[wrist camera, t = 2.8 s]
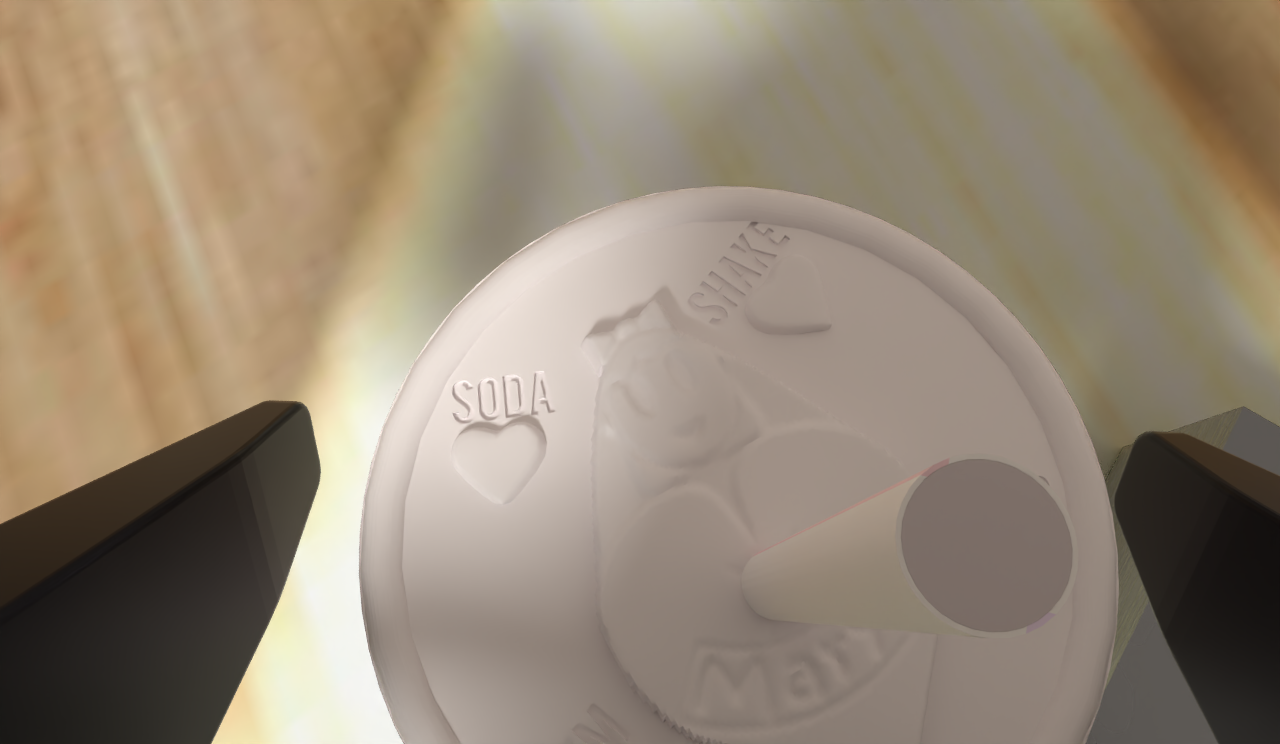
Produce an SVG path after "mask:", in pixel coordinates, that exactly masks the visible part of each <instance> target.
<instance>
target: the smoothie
mask: <svg viewBox="0 0 1280 744" xmlns="http://www.w3.org/2000/svg"><path fill="white" fill-rule="evenodd" d="M359 579H360V592H361V604H362V614H363V620H364V625H365V631H366V636H367V642H368V648H369V652H370V656H371V659H372V663H373V666H374V670H375V673H376V677H377V680H378V684H379V687H380V690H381V693H382V695H383V698H384V700H385V703H386V705H387V708H388V711H389V713H390V716H391V718H392V721H393V723H394V726H395V728H396V730H397V732H398V734H399V736H400V738H401V739H402V741H403V743H404V744H1085V743H1086V741H1087V738H1088V736H1089V733H1090V730H1091V728H1092V725H1093V723H1094V720H1095V717H1096V715H1097V712H1098V710H1099V707H1100V704H1101V700H1102V696H1103V693H1104V689H1105V685H1106V682H1107V678H1108V674H1109V671H1110V666H1111V660H1112V654H1113V648H1114V642H1115V636H1116V630H1117V614H1118V598H1119V578H1118V552H1117V544H1116V537H1115V529H1114V522H1113V514H1112V510H1111V506H1110V501H1109V497H1108V493H1107V488H1106V484H1105V479H1104V476H1103V473H1102V470H1101V467H1100V464H1099V461H1098V458H1097V455H1096V452H1095V449H1094V446H1093V443H1092V440H1091V438H1090V436H1089V434H1088V431H1087V429H1086V427H1085V424H1084V422H1083V420H1082V417H1081V415H1080V413H1079V411H1078V408H1077V407H1076V405H1075V403H1074V401H1073V399H1072V397H1071V396H1070V394H1069V392H1068V390H1067V388H1066V387H1065V385H1064V383H1063V381H1062V379H1061V377H1060V376H1059V374H1058V373H1057V371H1056V370H1055V368H1054V367H1053V365H1052V364H1051V362H1050V361H1049V359H1048V358H1047V356H1046V355H1045V354H1044V352H1043V351H1042V349H1041V348H1040V346H1039V345H1038V344H1037V342H1036V341H1035V340H1034V339H1033V338H1032V336H1031V335H1030V334H1029V333H1028V331H1027V330H1026V329H1025V328H1024V326H1023V325H1022V324H1021V323H1020V321H1019V320H1018V319H1017V318H1016V317H1015V316H1014V315H1013V314H1012V313H1011V312H1010V311H1009V310H1008V309H1007V308H1006V307H1005V306H1004V305H1003V303H1002V302H1001V301H1000V300H999V299H998V298H997V297H996V296H995V295H994V294H993V293H992V292H991V291H989V290H988V289H987V288H986V287H985V286H984V285H982V284H981V283H980V282H979V281H978V280H977V279H976V278H974V277H973V276H972V275H971V274H970V273H969V272H968V271H966V270H965V269H964V268H962V267H961V266H959V265H958V264H957V263H955V262H954V261H953V260H951V259H950V258H948V257H947V256H946V255H944V254H943V253H942V252H940V251H939V250H937V249H935V248H934V247H932V246H930V245H929V244H927V243H925V242H924V241H922V240H920V239H919V238H917V237H915V236H914V235H912V234H910V233H909V232H907V231H905V230H903V229H900V228H898V227H896V226H894V225H892V224H890V223H888V222H886V221H884V220H882V219H880V218H878V217H875V216H873V215H870V214H867V213H865V212H862V211H860V210H857V209H854V208H852V207H849V206H846V205H843V204H839V203H836V202H832V201H829V200H825V199H822V198H819V197H815V196H810V195H805V194H800V193H795V192H789V191H784V190H776V189H767V188H757V187H738V186H711V187H697V188H684V189H677V190H671V191H665V192H659V193H653V194H648V195H644V196H641V197H637V198H633V199H629V200H625V201H621V202H618V203H615V204H612V205H609V206H606V207H604V208H601V209H598V210H595V211H592V212H589V213H587V214H585V215H583V216H581V217H578V218H576V219H574V220H572V221H570V222H568V223H565V224H563V225H561V226H559V227H557V228H555V229H554V230H552V231H550V232H548V233H547V234H545V235H543V236H541V237H540V238H538V239H536V240H534V241H533V242H531V243H529V244H528V245H527V246H525V247H524V248H522V249H521V250H519V251H518V252H517V253H515V254H514V255H512V256H511V257H509V258H508V259H507V260H505V261H504V262H502V263H501V264H500V265H499V266H498V267H497V268H495V269H494V270H493V271H492V272H491V273H490V274H488V275H487V276H486V277H485V278H484V279H483V280H481V281H480V282H479V283H478V284H477V285H476V286H475V287H474V288H473V289H472V290H471V291H470V292H469V293H468V294H467V295H466V296H465V297H464V298H463V299H462V300H461V301H460V302H459V303H458V304H457V305H456V306H455V307H454V308H453V310H452V311H451V312H450V313H449V315H448V316H447V317H446V318H445V319H444V321H443V322H442V323H441V324H440V326H439V327H438V328H437V329H436V331H435V332H434V333H433V334H432V336H431V337H430V339H429V340H428V342H427V343H426V345H425V346H424V348H423V349H422V351H421V352H420V354H419V355H418V357H417V358H416V360H415V361H414V363H413V364H412V366H411V368H410V370H409V372H408V374H407V376H406V377H405V379H404V381H403V383H402V385H401V387H400V389H399V390H398V392H397V394H396V396H395V399H394V401H393V403H392V406H391V408H390V411H389V413H388V415H387V418H386V420H385V423H384V425H383V427H382V430H381V434H380V437H379V440H378V443H377V446H376V449H375V453H374V456H373V459H372V462H371V467H370V472H369V476H368V481H367V486H366V491H365V495H364V502H363V510H362V519H361V528H360V544H359Z"/></svg>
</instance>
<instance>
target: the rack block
mask: <svg viewBox="0 0 1280 744" xmlns="http://www.w3.org/2000/svg"><path fill="white" fill-rule="evenodd" d="M1169 432H1180V433H1185V434H1188V435H1191V436H1193V437H1195V438H1197V439H1199V440H1202V441H1204V442H1206V443H1208V444H1210V445H1213V446H1215V447H1217V448H1219V449H1221V450H1224V451H1226V452H1228V453H1230V454H1233V455H1235V456H1237V457H1239V458H1241V459H1244V460H1246V461H1248V462H1250V463H1252V464H1255V465H1257V466H1259V467H1261V468H1264V469H1266V470H1268V471H1270V472H1272V473H1275V474H1277V475H1279V476H1280V427H1279V426H1277V425H1275V424H1273V423H1272V422H1270V421H1268V420H1266V419H1265V418H1263V417H1261V416H1260V415H1258V414H1256V413H1254V412H1253V411H1251V410H1249V409H1247V408H1246V407H1244V406H1243V407H1240V408H1237V409H1234V410H1231V411H1228V412H1225V413H1223V414H1220V415H1217V416H1214V417H1211V418H1208V419H1205V420H1202V421H1199V422H1196V423H1193V424H1190V425H1187V426H1184V427H1181V428H1178V429H1175V430H1172V431H1169ZM1132 446H1133V444H1131V445H1128V446H1125V447H1123V448H1122V450H1121V452H1120V454H1119V456H1118V458H1117V460H1116V462H1115V464H1114V466H1113V468H1112V469H1111V471H1110V473H1109V475H1108V477H1107V479H1106V481H1105V484H1106V488H1107V493H1108V497H1109V501H1110V506H1111V510H1112V514H1113V522H1114V529H1115V537H1116V544H1117V552H1118V578H1119V598H1118V614H1117V630H1116V636H1115V642H1114V648H1113V654H1112V660H1111V666H1110V671H1109V674H1108V678H1107V682H1106V685H1105V689H1104V693H1103V696H1102V700H1101V704H1100V707H1099V710H1098V712H1097V715H1096V717H1095V720H1094V723H1093V725H1092V728H1091V730H1090V733H1089V736H1088V738H1087V741H1086V743H1085V744H1218V742H1217V740H1216V739H1215V737H1214V735H1213V733H1212V731H1211V729H1210V727H1209V725H1208V723H1207V721H1206V719H1205V717H1204V715H1203V714H1202V712H1201V710H1200V708H1199V706H1198V704H1197V702H1196V700H1195V698H1194V696H1193V694H1192V692H1191V690H1190V689H1189V687H1188V685H1187V683H1186V681H1185V679H1184V677H1183V675H1182V673H1181V671H1180V669H1179V667H1178V665H1177V664H1176V662H1175V660H1174V658H1173V656H1172V654H1171V652H1170V649H1169V647H1168V645H1167V643H1166V641H1165V639H1164V637H1163V635H1162V632H1161V630H1160V628H1159V625H1158V623H1157V621H1156V618H1155V616H1154V613H1153V611H1152V608H1151V606H1150V603H1149V601H1148V598H1147V595H1146V593H1145V590H1144V588H1143V585H1142V583H1141V580H1140V577H1139V575H1138V572H1137V570H1136V567H1135V564H1134V562H1133V559H1132V557H1131V554H1130V552H1129V549H1128V546H1127V544H1126V541H1125V539H1124V536H1123V534H1122V531H1121V528H1120V526H1119V523H1118V521H1117V518H1116V515H1115V510H1114V495H1115V491H1116V488H1117V485H1118V483H1119V480H1120V477H1121V475H1122V472H1123V469H1124V467H1125V464H1126V462H1127V459H1128V456H1129V454H1130V451H1131V448H1132Z"/></svg>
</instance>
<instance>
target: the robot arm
mask: <svg viewBox="0 0 1280 744" xmlns="http://www.w3.org/2000/svg"><path fill="white" fill-rule="evenodd" d="M320 474H321V468H320V460H319V455H318V450H317V445H316V440H315V436H314V431H313V426H312V421H311V416H310V413H309V411H308V409H307V407H306V406H305V405H304V404H303V403H301V402H296V401H264V402H262V403H259V404H257V405H255V406H253V407H251V408H249V409H246V410H244V411H242V412H240V413H238V414H236V415H234V416H231V417H229V418H227V419H225V420H223V421H221V422H219V423H216V424H214V425H212V426H210V427H208V428H206V429H204V430H201V431H199V432H197V433H195V434H193V435H191V436H188V437H186V438H184V439H182V440H180V441H178V442H176V443H173V444H171V445H169V446H167V447H165V448H163V449H161V450H158V451H156V452H154V453H152V454H150V455H148V456H145V457H143V458H141V459H139V460H137V461H135V462H133V463H130V464H128V465H126V466H124V467H122V468H120V469H118V470H115V471H113V472H111V473H109V474H107V475H105V476H103V477H100V478H98V479H96V480H94V481H92V482H90V483H87V484H85V485H83V486H81V487H79V488H77V489H75V490H72V491H70V492H68V493H66V494H64V495H62V496H60V497H57V498H55V499H53V500H51V501H49V502H47V503H45V504H42V505H40V506H38V507H36V508H34V509H32V510H29V511H27V512H25V513H23V514H21V515H19V516H17V517H14V518H12V519H10V520H8V521H6V522H4V523H2V524H0V744H211V743H212V741H213V739H214V737H215V735H216V733H217V731H218V729H219V727H220V725H221V722H222V720H223V718H224V716H225V714H226V712H227V710H228V708H229V706H230V704H231V702H232V699H233V697H234V695H235V693H236V691H237V689H238V687H239V685H240V683H241V681H242V679H243V676H244V674H245V672H246V670H247V668H248V666H249V664H250V662H251V660H252V658H253V656H254V653H255V651H256V649H257V647H258V645H259V643H260V641H261V639H262V637H263V635H264V633H265V631H266V628H267V626H268V624H269V622H270V620H271V618H272V615H273V613H274V611H275V609H276V606H277V604H278V602H279V599H280V597H281V594H282V591H283V589H284V586H285V583H286V580H287V577H288V575H289V572H290V569H291V566H292V563H293V560H294V557H295V554H296V551H297V548H298V545H299V542H300V539H301V536H302V533H303V530H304V527H305V525H306V522H307V519H308V516H309V513H310V510H311V507H312V504H313V501H314V498H315V495H316V492H317V489H318V486H319V482H320ZM1114 510H1115V515H1116V518H1117V521H1118V523H1119V526H1120V528H1121V531H1122V534H1123V536H1124V539H1125V541H1126V544H1127V546H1128V549H1129V552H1130V554H1131V557H1132V559H1133V562H1134V564H1135V567H1136V570H1137V572H1138V575H1139V577H1140V580H1141V583H1142V585H1143V588H1144V590H1145V593H1146V595H1147V598H1148V601H1149V603H1150V606H1151V608H1152V611H1153V613H1154V616H1155V618H1156V621H1157V623H1158V625H1159V628H1160V630H1161V632H1162V635H1163V637H1164V639H1165V641H1166V643H1167V645H1168V647H1169V649H1170V652H1171V654H1172V656H1173V658H1174V660H1175V662H1176V664H1177V665H1178V667H1179V669H1180V671H1181V673H1182V675H1183V677H1184V679H1185V681H1186V683H1187V685H1188V687H1189V689H1190V690H1191V692H1192V694H1193V696H1194V698H1195V700H1196V702H1197V704H1198V706H1199V708H1200V710H1201V712H1202V714H1203V715H1204V717H1205V719H1206V721H1207V723H1208V725H1209V727H1210V729H1211V731H1212V733H1213V735H1214V737H1215V739H1216V740H1217V742H1218V744H1280V476H1279V475H1277V474H1275V473H1272V472H1270V471H1268V470H1266V469H1264V468H1261V467H1259V466H1257V465H1255V464H1252V463H1250V462H1248V461H1246V460H1244V459H1241V458H1239V457H1237V456H1235V455H1233V454H1230V453H1228V452H1226V451H1224V450H1221V449H1219V448H1217V447H1215V446H1213V445H1210V444H1208V443H1206V442H1204V441H1202V440H1199V439H1197V438H1195V437H1193V436H1191V435H1188V434H1185V433H1180V432H1157V431H1149V432H1145V433H1143V434H1141V435H1139V436H1138V437H1137V439H1136V440H1135V442H1134V444H1133V446H1132V448H1131V451H1130V454H1129V456H1128V459H1127V462H1126V464H1125V467H1124V469H1123V472H1122V475H1121V477H1120V480H1119V483H1118V485H1117V488H1116V491H1115V495H1114Z"/></svg>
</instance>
